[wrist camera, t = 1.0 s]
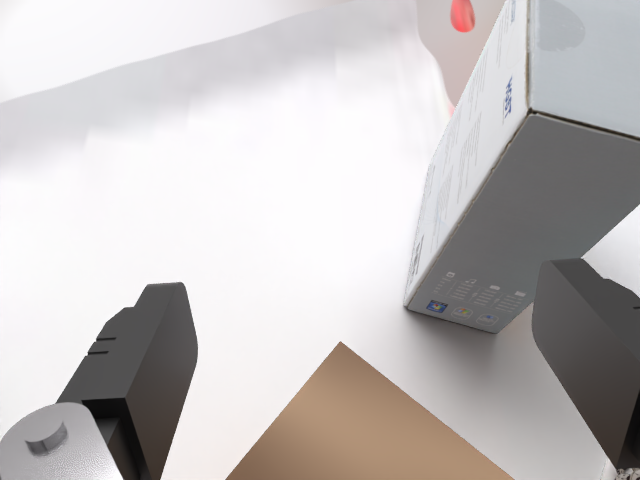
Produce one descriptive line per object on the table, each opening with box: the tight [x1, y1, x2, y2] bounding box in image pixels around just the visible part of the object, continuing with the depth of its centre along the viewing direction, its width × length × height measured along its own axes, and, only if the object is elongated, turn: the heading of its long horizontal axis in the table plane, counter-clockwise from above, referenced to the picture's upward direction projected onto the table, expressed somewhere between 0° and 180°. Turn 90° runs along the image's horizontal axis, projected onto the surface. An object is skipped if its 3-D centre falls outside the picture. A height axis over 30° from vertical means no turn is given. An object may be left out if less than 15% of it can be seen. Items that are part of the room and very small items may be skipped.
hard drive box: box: [404, 0, 640, 334], centre depth 33 cm, size 16×8×20 cm, turn 166°
